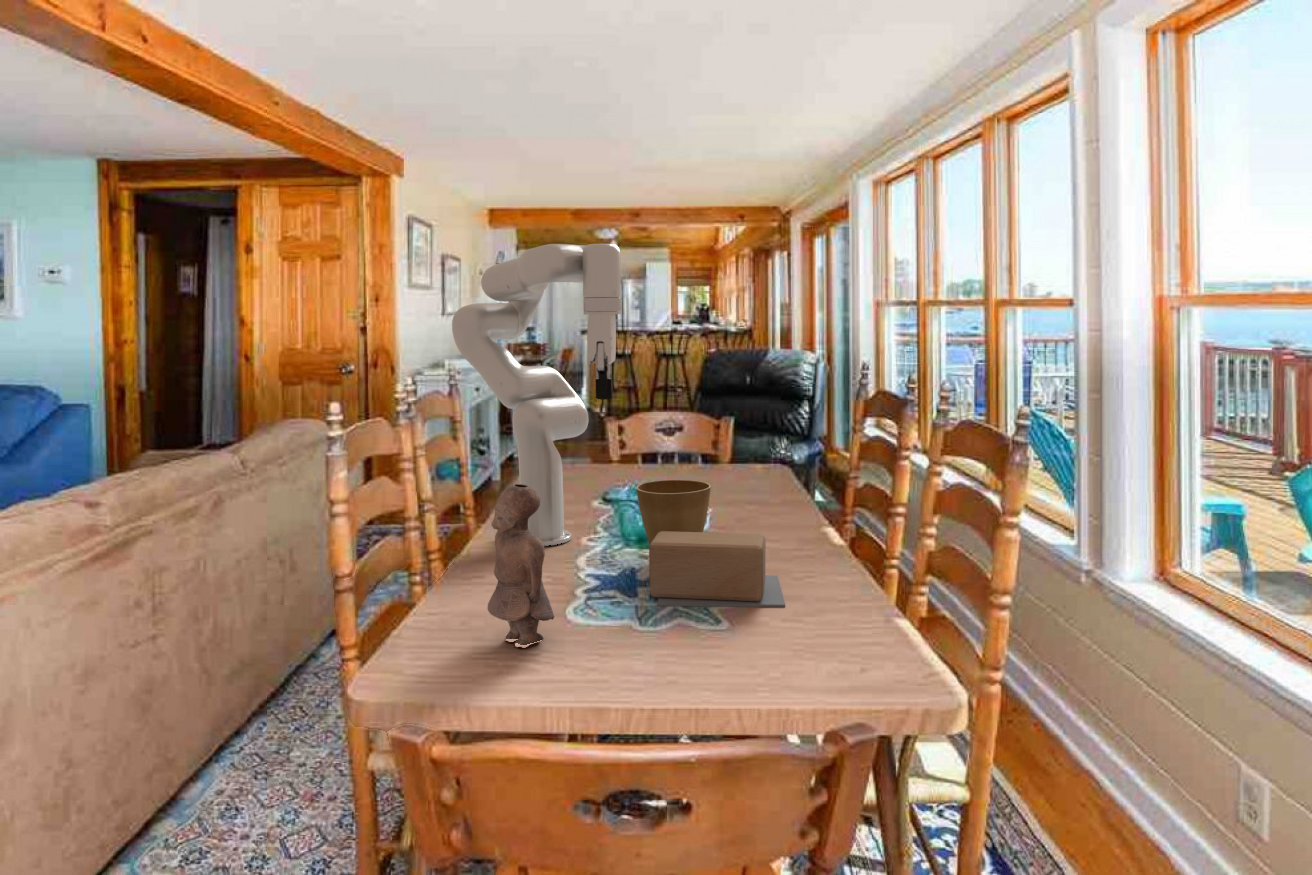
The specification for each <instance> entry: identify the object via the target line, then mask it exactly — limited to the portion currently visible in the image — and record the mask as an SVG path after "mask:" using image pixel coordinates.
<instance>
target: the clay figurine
mask: <svg viewBox="0 0 1312 875" xmlns="http://www.w3.org/2000/svg"><path fill="white" fill-rule="evenodd" d="M539 507H540V497H539V495H538V493H537V492H536V491H535V490H534V489H533V488H531V487H530V486H527V485H523V484H520V483H515V484H512V485H510V486H508V487H506V488H505V489H504V490H503V491H502V492H501V494H500V496H499V498H498V501H497V503H496V504H495V507H494V517H493V519H492V521H491V527H492V528H493V529H494V530H497V532H495V536H494V544H495V550H496V556H495V563H494V569H493V570H494V571H493V572H494V576H495V579H496V580H497V583H496V587H495V589H494V590H493V593H492V595H491V596H490V599H489V601H488V603H487V608H486V609H487V611H488V613H489V614H490V615H491V616H493V617H495V618H496V619H499V620H502V621H506V622H507V623H508V625H509V626H508V627H509V631H508V632H507V635H506V636H505V638H506V639H518V640H516V641H515V642H516V643H518V644H520V645H527V644H530V643H534V642H537V641H540V640H542V641H544V638H545V637H544V636H543V635H542V634H541V633H538V628H539V622H540V621H542V622H546V621H550V620H554V619H555V614H554V611H553V607H552V605H551V602H550V599H549V597H548V594H547V592H546V588H545V586H544V583H543V564H544V561H545V554H546V551H545V546H544V545H543V543H542V541H541V540H540V539H539V538H537V537H536V536H534V535H533V534H532V533H531V532H530V531H529V529H528V519H529V517H530V516H531V515H533V514H534V513H535V512H536V511H537V510H538V508H539Z"/></svg>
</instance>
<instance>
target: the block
mask: <svg viewBox="0 0 1312 875" xmlns="http://www.w3.org/2000/svg"><path fill="white" fill-rule="evenodd" d="M766 545H767V544H766V537H765V535H764V534H761V533H741V532H739V533H738V532H737V533H734V532H729V533H728V532H706V531H705V532H704V531H703V532H673V531H661V532H658V534H657V535H656V537H655V538H654V540H653V541H652V543H651V544H649V548H648V554H649V556H648V558H649V559H648V560H649V562H648V564H649V566H648V568H649V569H648V570H649V573H648V574H649V578H648V579H649V593H650V595H651V597H653V598H659V597H663V598H687V599H711V600H734V601H760V600H762V597H763V594H764V587H765V575H766Z"/></svg>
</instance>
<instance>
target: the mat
mask: <svg viewBox="0 0 1312 875" xmlns="http://www.w3.org/2000/svg"><path fill="white" fill-rule="evenodd" d="M657 599H658V600H657V607H729V608H730V607H733V608H734V607H735V608H736V607H741V608H743V607H744V608H747V607H748V608H750V607H751V608H752V607H756V608H758V607H760V608H765V607H767V608H768V607H770V608H771V607H772V608H773V607H774V608H775V607H776V608H777V607H778V608H785V607H786V602H785V599H784V595H783V591H782V587H781V583H780V580H779V576H778V575H776V574H774V575H773V574H771V575H770V574H769V575H768V574H767V575H766V574H765V587H764V594H763V597H762V600H760V601H734V600H711V599H687V598H663V597H657Z"/></svg>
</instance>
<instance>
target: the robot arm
mask: <svg viewBox="0 0 1312 875" xmlns="http://www.w3.org/2000/svg"><path fill="white" fill-rule="evenodd" d="M621 271H622V270H621V251H620V247H619V246H618V245H616V244H614V243H589V244H586V245H584V244H583V245H580V244H578V245H577V244H569V243H568V244H567V243H566V244H565V243H548V244H544V245H539V246H536V247H532V248H529V249H526V250H524V251H523V252H522V254H521V255H520V257H517V258H513V259H509V260H506V261H503V262H499V263H496V264H493V265H492V266H489V267H488V268H487V269H486V270H485V271H484V272H483V274H482V275H481V280H480V286H481V290H482V291H483V292H484V294H485V296H486V297H489V299H492V300H494V301H496V302H495V303H494V302H492V303H491V302H489V303H488V302H485V303H484V302H483V303H482V302H481V303H479V302H478V303H471V304H470V303H469V304H466V305H464V306H461V307H459V309H457V310H456V311H455V312H454V314H453V315H452V316H453V317H452V320H451V331H452V336H453V340H454V343H455V345H456V348H457V349H458V351H459V353H460V355H461V356H463V358H464V359H465V360H466V361H467V362H468V363H469V365H470V366H472V367H473V368H474V369H475V370H476V372H477V373H478V374H479V375H480V376H481V378H482V379H483V380H484V382H485V384H486V385H487V386H488V387H489V389H490V390H491V391H492V393H493V394H494V395H495V396H496V398H497V399H498V400H499V402H500V403H501V404H502V405H503V406H504V407H506V408H507V409H509V410H510V409H511V410H514V412H513V413H512V414H513V415H512V427H513V432H514V436H515V441H516V446H517V447H516V448H517V455H518V470H519V471H518V473H519V484H523V485H527V486H530V487H531V488H533V489H534V490H535V491H536V492H537V493H538V495H539V497H540V507H539V508H538V510H537V511H536V512H535V513H534V514H533V515H531V516H530V517H529V519H528V529H529V531H530V532H531V533H532V534H533V535H534V536H536V537H537V538H539V539H540V540H541V541H542V543H543V545H544V547H549V545H551V546H556V545H557V544H558V545H562V544H566V543H567V542H569V541H570V540H571V539H572V533H571V532H570V531H569V530H567V529H565V519H564V517H565V516H564V515H565V514H564V481H563V480H564V479H563V462H562V460H563V459H562V456H561V454H560V453H559V451H558V449H557V446H555V443H554V442H555V441H558V440H566V439H571V438H577V437H579V436H580V435H582V434H583V433H585V431H586V430H587V428H588V424H589V413H588V412H589V411H588V410H587V409H588V408H587V407H586V405H585V403H584V402H583V400H582V399H581V397H580V396H579V395H578V394H577V392H576V391H575V390H574V388H572V387H571V385H570V384H569V382H568V381H566V379H565V378H564V377H563V375H562V374H561V373H560V372H559V371H558V370H557V369H555V368H553V367H551V366H547V365H522V364H520V362H518V361H517V359H515V357H514V356H513V355H512V353H511V352H510V351H509V350H508V349H506V347H504V346H502V345H501V344H499V343H497V342H495V340H497V341H498V340H499V341H500V340H515V339H517V338H520V337H521V336H522V335H523V334H524V333H525V332H526V330H527V328H528V327H529V325H530V322H531V321H532V319H533V318H534V315H535V313H536V312H537V311H536V310H537V309H538V307H539V304H540V302H541V300H542V298H543V295H544V292H545V290H546V289H547V288H548V286H549V284H550V283H577V284H578V283H580V284H581V283H582V297H583V299H582V300H583V301H582V302H583V306H582V307H583V315H586V316H587V315H588V318H587V333H586V334H587V335H586V336H587V337H586V339H587V342H586V343H587V344H586V345H587V346H586V347H587V348H586V349H587V352H586V353H587V354H586V355H587V356H586V359H587V360H586V361H587V364H588V365H593V364H595V399H596V400H611V399H612V398H613V378H612V364H613V363H614V362H615V361H616V355H617V354H616V351H617V326H616V324H617V323H616V321H617V320H616V319H617V318H616V315H622V282H621V281H622V280H621V279H622V278H621V277H622V274H621V273H622V272H621ZM500 302H501V303H500ZM561 543H562V544H561ZM558 545H557V546H558Z"/></svg>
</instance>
